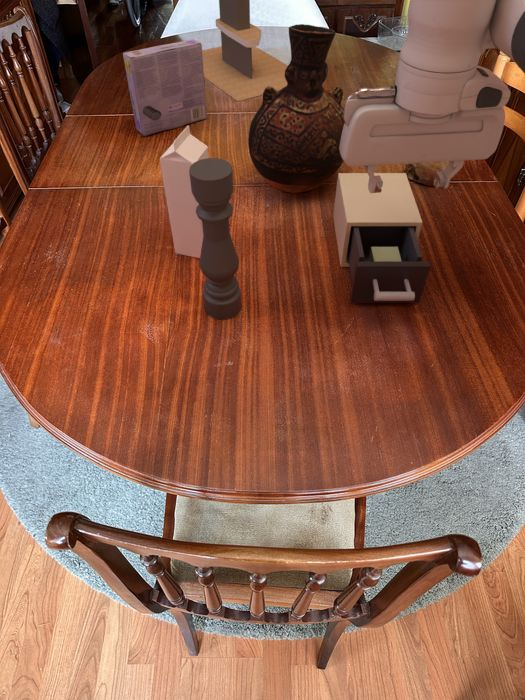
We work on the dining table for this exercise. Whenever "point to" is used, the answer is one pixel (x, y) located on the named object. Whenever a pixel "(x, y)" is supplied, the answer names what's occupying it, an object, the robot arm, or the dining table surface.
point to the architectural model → (241, 56)
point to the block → (384, 254)
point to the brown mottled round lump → (425, 171)
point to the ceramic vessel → (300, 118)
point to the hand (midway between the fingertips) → (407, 188)
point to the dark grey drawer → (386, 265)
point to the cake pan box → (166, 86)
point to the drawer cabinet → (372, 206)
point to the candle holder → (216, 236)
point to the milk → (183, 192)
